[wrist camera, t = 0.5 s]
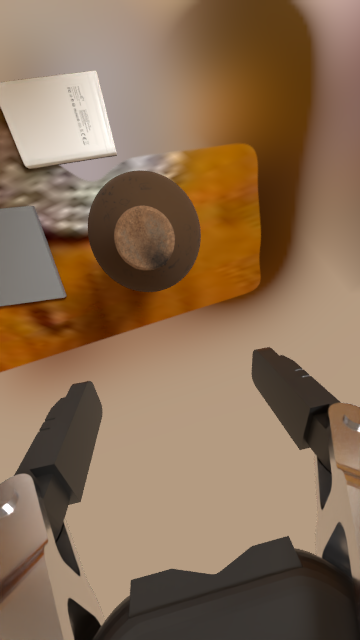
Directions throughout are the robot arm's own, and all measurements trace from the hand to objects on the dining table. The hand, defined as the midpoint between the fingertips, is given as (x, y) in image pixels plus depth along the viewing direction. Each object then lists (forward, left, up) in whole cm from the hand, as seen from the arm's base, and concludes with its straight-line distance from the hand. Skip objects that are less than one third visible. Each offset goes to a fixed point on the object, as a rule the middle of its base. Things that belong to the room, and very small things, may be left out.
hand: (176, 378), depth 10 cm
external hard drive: (-21, -10, -29) cm, 37 cm away
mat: (-5, -22, -29) cm, 37 cm away
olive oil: (-6, 0, -29) cm, 29 cm away
